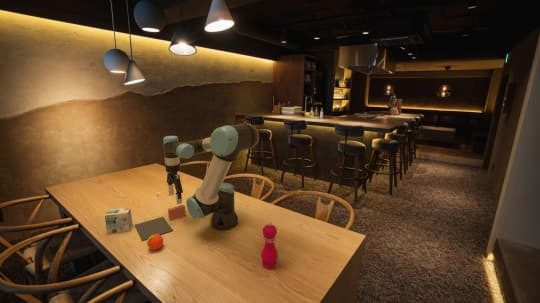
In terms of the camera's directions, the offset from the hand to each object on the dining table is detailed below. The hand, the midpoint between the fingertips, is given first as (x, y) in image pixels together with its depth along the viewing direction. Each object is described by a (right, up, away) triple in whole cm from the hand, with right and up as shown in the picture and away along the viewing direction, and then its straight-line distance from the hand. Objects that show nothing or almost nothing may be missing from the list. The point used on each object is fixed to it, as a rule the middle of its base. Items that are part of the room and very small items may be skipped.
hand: (175, 199), depth 142 cm
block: (0, -11, +3) cm, 12 cm away
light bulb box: (-25, -14, -10) cm, 31 cm away
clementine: (0, -18, -26) cm, 32 cm away
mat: (-8, -14, -9) cm, 19 cm away
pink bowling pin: (+54, -21, -35) cm, 68 cm away
